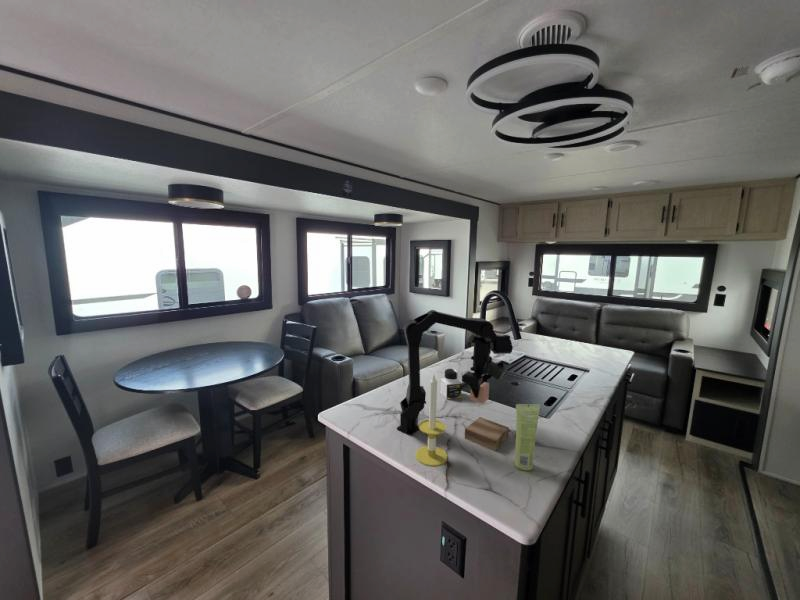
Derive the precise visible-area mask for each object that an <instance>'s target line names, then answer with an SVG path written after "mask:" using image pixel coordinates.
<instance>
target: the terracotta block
mask: <svg viewBox="0 0 800 600" xmlns="http://www.w3.org/2000/svg"><path fill="white" fill-rule="evenodd" d="M489 393H490V383H489V382H488V383H487V382H484V383H483V384H481V386H480V391H479V396H478V398H475V397H474V394H473V392H472V390H471V389H470V393H469V400H470V401H474V402H477V403H480V404H484V403H485V402H486V401H488V400H490V399H489V397H490V394H489Z"/></svg>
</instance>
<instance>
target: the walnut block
mask: <svg viewBox="0 0 800 600" xmlns="http://www.w3.org/2000/svg"><path fill="white" fill-rule="evenodd" d="M509 431H510V427H508V426H506V425H503V424H501V423H497V422H494V421H493V420H489V419H487V418H484V417H478V418H477V419H475V420H474V421H473V422H472V423H470V424H469V425H468V426H467V427H465V429H464V440H467V441H468V442H471V443H474V444H477V445H479V446H481V447H483V448H486V449H488V450H491V451H493V452H496V451H497V450H498V449H500V447H501V446H502V445H503V443H505V442H506V440H507V439H509V435H510V434H509Z"/></svg>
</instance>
